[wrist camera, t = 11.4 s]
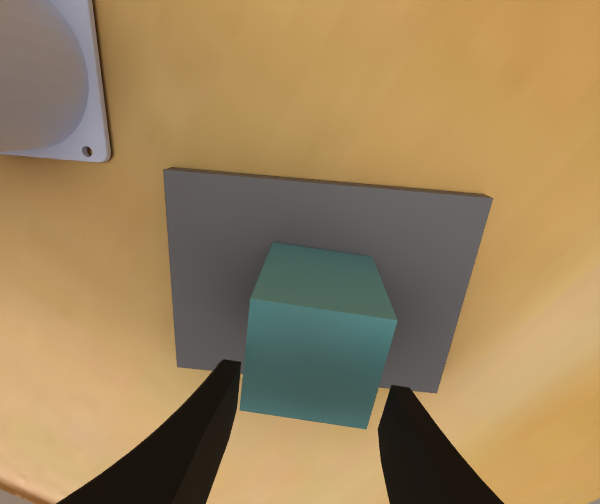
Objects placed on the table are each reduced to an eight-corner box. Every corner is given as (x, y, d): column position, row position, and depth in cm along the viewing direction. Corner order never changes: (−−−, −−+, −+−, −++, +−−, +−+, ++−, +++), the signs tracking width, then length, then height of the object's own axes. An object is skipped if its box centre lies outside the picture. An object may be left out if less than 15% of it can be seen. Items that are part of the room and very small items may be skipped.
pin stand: (183, 356, 22) (129, 447, 15) (171, 167, 17) (91, 190, 11) (431, 381, 21) (476, 484, 15) (483, 194, 17) (575, 233, 11)
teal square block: (263, 326, 19) (239, 410, 13) (272, 241, 17) (250, 298, 12) (352, 340, 19) (366, 429, 13) (372, 256, 17) (397, 320, 12)
